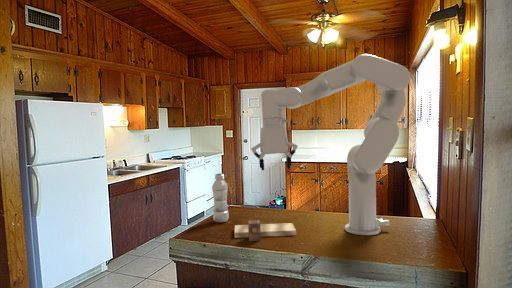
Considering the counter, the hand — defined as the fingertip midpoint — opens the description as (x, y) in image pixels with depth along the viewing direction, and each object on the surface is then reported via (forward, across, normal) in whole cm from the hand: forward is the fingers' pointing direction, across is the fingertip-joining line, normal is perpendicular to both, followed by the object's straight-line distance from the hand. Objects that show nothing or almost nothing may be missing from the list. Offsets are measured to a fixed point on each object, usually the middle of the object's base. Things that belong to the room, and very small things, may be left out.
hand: (275, 168), depth 123 cm
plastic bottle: (+22, +22, -15) cm, 35 cm away
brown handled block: (+23, +10, +4) cm, 25 cm away
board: (+23, +6, +2) cm, 24 cm away
